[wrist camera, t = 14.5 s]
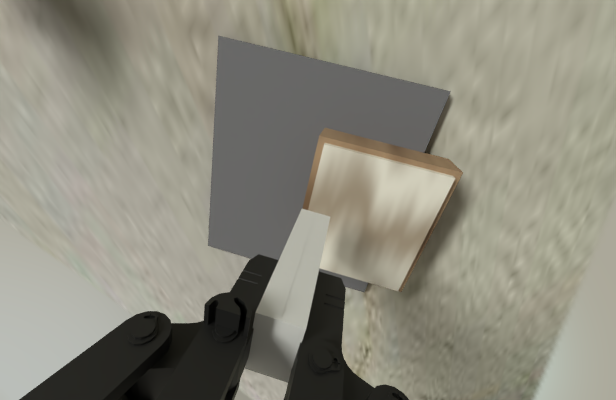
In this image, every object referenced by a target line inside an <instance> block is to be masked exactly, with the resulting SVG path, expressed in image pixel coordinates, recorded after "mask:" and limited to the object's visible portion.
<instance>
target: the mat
mask: <svg viewBox="0 0 616 400" xmlns="http://www.w3.org/2000/svg"><path fill="white" fill-rule="evenodd" d="M449 94H450V91H446V90H442V89H438V88H434V87H430V86H426V85H421V84H417V83H413V82H409V81H405V80H401V79H396V78H392V77H388V76H384V75H380V74H376V73H371V72H367V71H363V70H359V69H355V68H351V67H346V66H342V65H338V64H334V63H330V62H326V61H322V60H317V59H313V58H309V57H305V56H301V55H297V54H292V53H288V52H284V51H280V50H276V49H272V48H267V47H263V46H259V45H255V44H251V43H247V42H242V41H238V40H234V39H230V38H226V37H222V36H219V37H218V57H217V77H216V97H215V117H214V138H213V158H212V178H211V198H210V218H209V239H208V246H211V247H214V248H218V249H221V250H224V251H228V252H231V253H234V254H238V255H241V256H244V257H248V258H251V259H252V258H254V257H255V256H257V255H258V254H260V255H263V256H267V257H270V258H273V259H277V260H279V259H280V256H281V254H282V252H283V250H284V247H285V245H286V243H287V241H288V238H289V236H290V234H291V232H292V229H293V227H294V225H295V223H296V220H297V218H298V216H299V214H300V212H301V209H302V208H303V204H304V199H305V195H306V191H307V186H308V182H309V178H310V173H311V169H312V165H313V160H314V156H315V152H316V147H317V143H318V139H319V135H320V134H321V132H322V131H323V130H324V128H329V129H333V130H336V131H340V132H344V133H348V134H352V135H356V136H360V137H364V138H368V139H372V140H376V141H380V142H383V143H387V144H391V145H395V146H399V147H403V148H407V149H411V150H415V151H419V152H423V153H424V152H425V150H426V148H427V145H428V143H429V141H430V138H431V136H432V134H433V131H434V129H435V127H436V124H437V122H438V120H439V117H440V115H441V113H442V111H443V108H444V106H445V104H446V101H447V99H448V97H449ZM319 272H323V273H326V274H329V275H333V276H336V277H339V278H341V279H342V281H343V284H344V286H345V287H348V288H352V289H355V290H358V291H362V292H364V291H365V289H366V287H367V284H368V282H364V281H361V280H357V279H354V278H351V277H347V276H344V275H340V274H337V273H334V272H330V271H327V270H323V269H320V268H319Z"/></svg>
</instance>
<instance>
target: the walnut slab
mask: <svg viewBox="0 0 616 400" xmlns="http://www.w3.org/2000/svg"><path fill="white" fill-rule="evenodd" d="M462 174H463V172H462V171H461V170H460V169H459V168H457V167H456V166H455V165H454V164H453V163H452V162H451V161H450V160H449V159H446V158H442V157H438V156H434V155H430V154H427V153H423V152H419V151H415V150H411V149H407V148H403V147H399V146H395V145H391V144H387V143H383V142H380V141H376V140H372V139H368V138H364V137H360V136H356V135H352V134H348V133H344V132H340V131H336V130H333V129H329V128H324V130H323V131H322V132H321V134H320V135H319V139H318V143H317V147H316V152H315V156H314V160H313V165H312V169H311V173H310V178H309V182H308V186H307V191H306V195H305V199H304V204H303V208H302V209H305V210H309V211H312V212H316V213H319V214H323V215H326V216H330V221H329V226H328V231H327V235H326V240H325V244H324V249H323V254H322V258H321V263H320V269H323V270H327V271H330V272H334V273H337V274H340V275H344V276H347V277H351V278H354V279H357V280H361V281H364V282H368V283H371V284H374V285H378V286H381V287H385V288H388V289H391V290H395V291H400V292H402V290H403V288H404V286H405V284H406V282H407V280H408V278H409V276H410V274H411V272H412V270H413V269H414V267H415V265H416V263H417V261H418V259H419V257H420V255H421V253H422V251H423V249H424V247H425V245H426V243H427V241H428V240H429V238H430V236H431V234H432V232H433V230H434V228H435V226H436V224H437V222H438V220H439V218H440V216H441V214H442V212H443V210H444V209H445V207H446V205H447V203H448V201H449V199H450V197H451V195H452V193H453V191H454V189H455V187H456V185H457V183H458V181H459V180H460V178H461V176H462Z"/></svg>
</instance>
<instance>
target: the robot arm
mask: <svg viewBox="0 0 616 400" xmlns="http://www.w3.org/2000/svg"><path fill="white" fill-rule="evenodd" d="M329 221H330V216H326V215H323V214H319V213H316V212H312V211H309V210H305V209H301V212H300V214H299V216H298V218H297V220H296V223H295V225H294V227H293V229H292V232H291V234H290V236H289V238H288V241H287V243H286V245H285V247H284V250H283V252H282V254H281V256H280V259H279V260H277V259H273V258H270V257H267V256H263V255H260V254H258V255H257V256H255V257H254V258H252V259H251V260H249V262H248V263H247V265H246V266H245V268H244V270H243V271H242V273H241V275H240V276H239V279H238V280H237V281H236V283H235V285H234V286H233V288H232V290H231V291H230V292H228V293H221V294H218V295H216V296H214V297H212V298H211V299H210V300H209V301H208V302H207V303H206V304H205V311H204V321H201V322H198V323H171V321H170V319H169V318H168V317H167V316H166V315H165V314H163V313H160V312H157V311H147V312H143V313H140V314H136V315H135V316H133V317H131V318H129V319H128V320H126V321H125V322H123V323H122V324H121V325H119V326H118V327H117V328H115V329H114V330H113V331H111V332H110V333H108V334H107V335H106V336H104V337H103V338H102V339H100V340H99V341H98V342H96V343H95V344H94V345H92V346H91V347H90V348H88V349H87V350H86V351H84V352H83V353H82V354H80V355H79V356H77V357H76V358H75V359H73V360H72V361H71V362H70V363H68V364H67V365H65V366H64V367H63V368H61V369H60V370H59V371H57V372H56V373H55V374H53V375H52V376H51V377H49V378H48V379H46V380H45V381H44V382H43V383H41V384H40V385H38V386H37V387H36V388H34V389H33V390H32V391H30V392H29V393H28V394H26V395H25V396H24V397H22V398H21V399H20V400H234V398H235V395H236V393H237V390H238V387H239V382H240V378H241V375H242V373H243V370H244V368H246V369H249V370H252V371H255V372H258V373H261V374H264V375H267V376H270V377H273V378H276V379H279V380H282V381H285V382H288V386H287V391H286V394H285V397H284V400H409V399H408V398H407V397H406V396H405V394H404V393H402V392H401V391H399V390H398V389H396V388H395V387H392V386H389V385H380V386H376V387H375V388H374V387H372V386H371V385H369V384H368V383H366V382H365V381H364V380H362V379H361V378H359V377H358V376H357V375H356V374H355V373H353V372H352V370H351V369H350V368H349V367H348V365H347V364H346V362H345V360H344V357H343V354H342V346H341V345H342V331H343V317H344V304H345V302H344V301H345V290H346V289H345V286H344V284H343V281H342V279H341V278H339V277H336V276H333V275H329V274H326V273H323V272H319V268H320V263H321V258H322V254H323V249H324V244H325V240H326V235H327V231H328V226H329ZM245 365H246V367H245Z"/></svg>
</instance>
